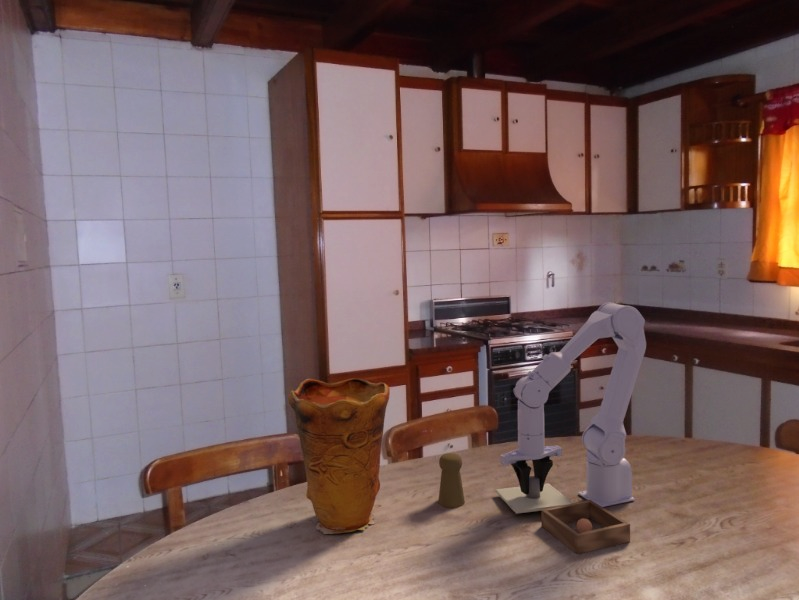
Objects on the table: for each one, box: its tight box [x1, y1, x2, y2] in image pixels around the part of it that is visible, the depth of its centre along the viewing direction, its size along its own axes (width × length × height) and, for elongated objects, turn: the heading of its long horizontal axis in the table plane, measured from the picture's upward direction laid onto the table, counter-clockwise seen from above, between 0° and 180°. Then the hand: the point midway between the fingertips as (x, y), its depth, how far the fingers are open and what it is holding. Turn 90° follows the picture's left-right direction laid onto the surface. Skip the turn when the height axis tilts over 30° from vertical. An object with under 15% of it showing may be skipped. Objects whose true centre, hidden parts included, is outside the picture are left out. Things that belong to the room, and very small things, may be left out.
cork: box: [438, 452, 466, 509], centre depth 134 cm, size 6×6×11 cm
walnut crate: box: [540, 499, 631, 555], centre depth 118 cm, size 12×12×4 cm
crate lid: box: [495, 475, 574, 515], centre depth 132 cm, size 13×13×5 cm
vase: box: [288, 377, 391, 535], centre depth 124 cm, size 21×20×30 cm
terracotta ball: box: [576, 518, 593, 533], centre depth 118 cm, size 3×3×3 cm
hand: (531, 491), depth 132 cm, fingers closed on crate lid, 3 cm apart
